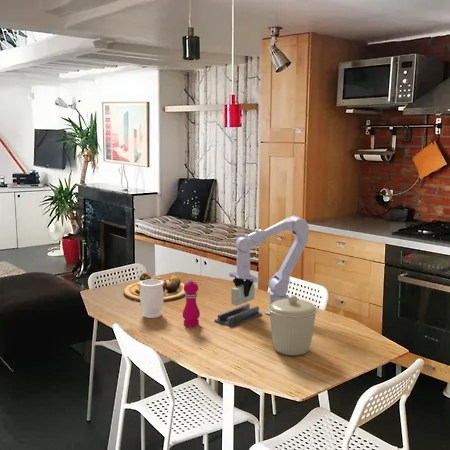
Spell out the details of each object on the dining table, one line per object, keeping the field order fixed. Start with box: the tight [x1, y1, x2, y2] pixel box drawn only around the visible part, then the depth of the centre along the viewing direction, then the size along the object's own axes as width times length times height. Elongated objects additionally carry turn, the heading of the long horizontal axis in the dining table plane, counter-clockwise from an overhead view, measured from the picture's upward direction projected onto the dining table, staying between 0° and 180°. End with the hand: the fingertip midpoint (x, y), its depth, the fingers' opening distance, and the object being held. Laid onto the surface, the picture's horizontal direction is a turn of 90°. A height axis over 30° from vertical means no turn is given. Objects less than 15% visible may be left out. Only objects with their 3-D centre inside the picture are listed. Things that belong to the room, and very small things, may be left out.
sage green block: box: [230, 283, 255, 306], centre depth 242 cm, size 12×4×7 cm, turn 139°
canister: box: [267, 294, 319, 357], centre depth 205 cm, size 18×18×21 cm
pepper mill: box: [182, 277, 201, 328], centre depth 232 cm, size 7×7×20 cm
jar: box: [140, 278, 164, 319], centre depth 244 cm, size 11×10×15 cm
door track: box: [214, 303, 263, 328], centre depth 241 cm, size 20×10×3 cm, turn 139°
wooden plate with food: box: [123, 271, 186, 303], centre depth 278 cm, size 32×32×8 cm
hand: (243, 295), depth 243 cm, fingers closed on sage green block, 3 cm apart
